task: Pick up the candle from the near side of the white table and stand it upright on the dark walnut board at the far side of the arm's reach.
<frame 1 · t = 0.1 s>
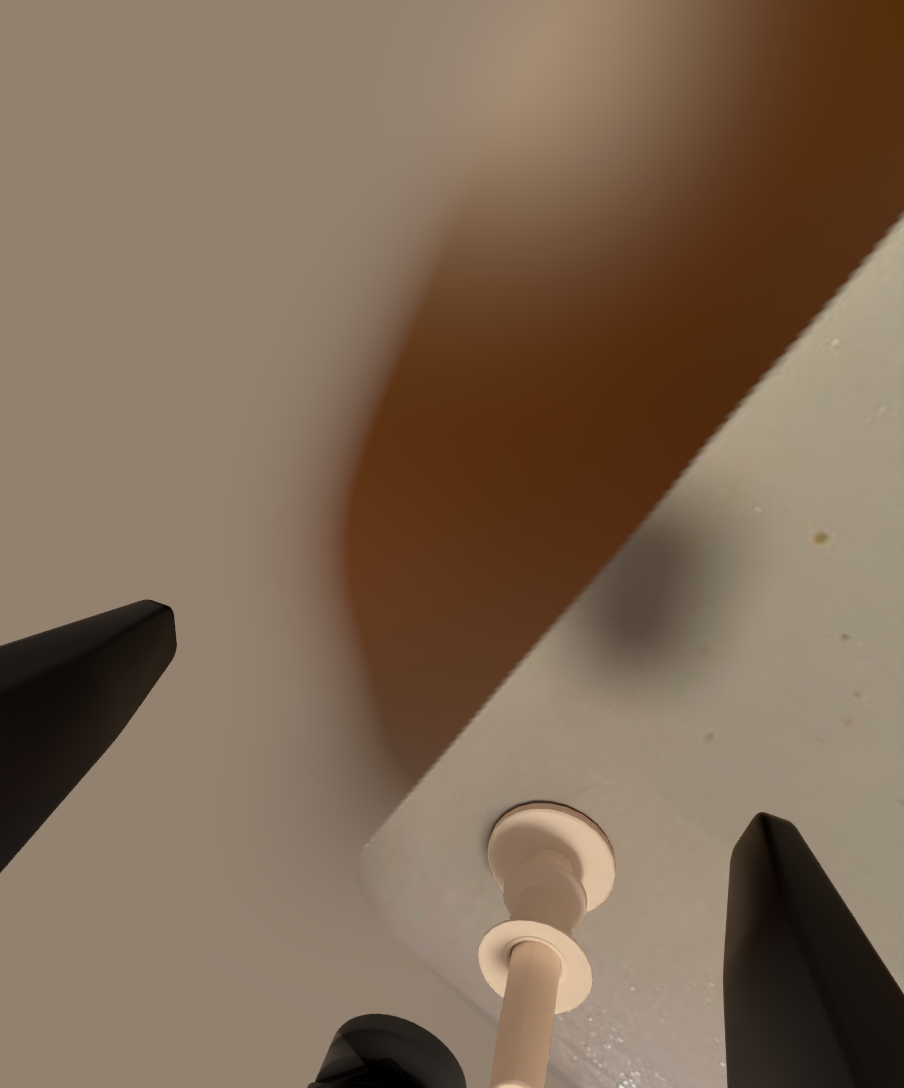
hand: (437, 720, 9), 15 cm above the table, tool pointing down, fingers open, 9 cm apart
candle: (551, 852, 27), on the table
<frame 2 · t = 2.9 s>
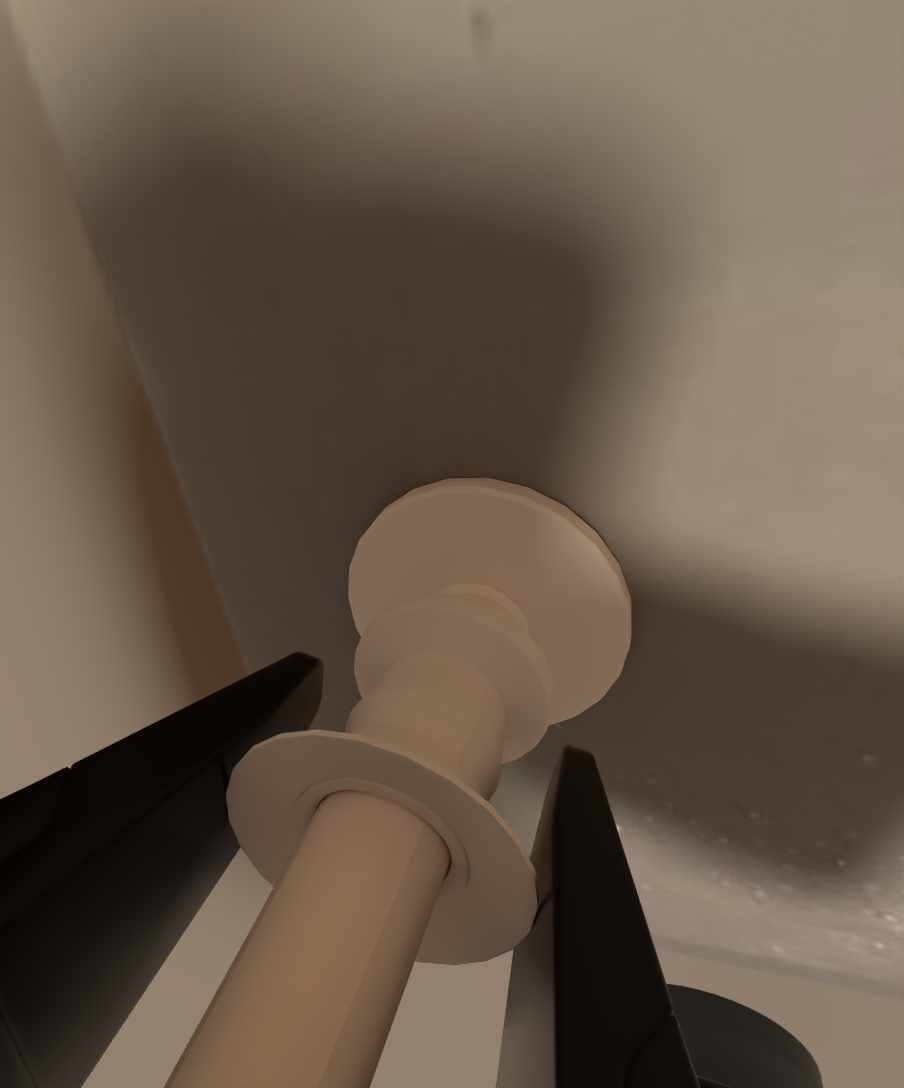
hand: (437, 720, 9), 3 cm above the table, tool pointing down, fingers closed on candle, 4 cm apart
candle: (490, 599, 12), on the table, touching gripper
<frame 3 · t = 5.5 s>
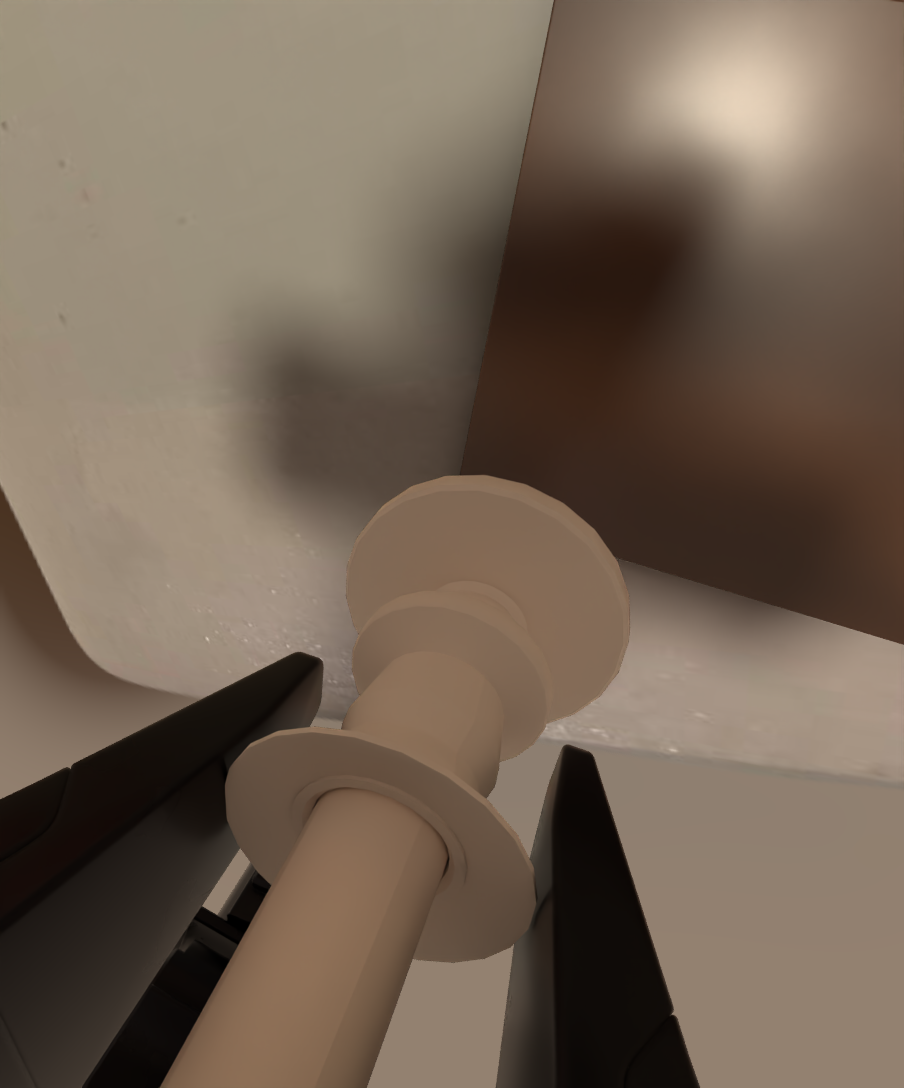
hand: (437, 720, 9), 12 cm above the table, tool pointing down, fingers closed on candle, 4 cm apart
walnut board: (873, 372, 17), on the table
candle: (488, 597, 12), point 9 cm above the table, touching gripper
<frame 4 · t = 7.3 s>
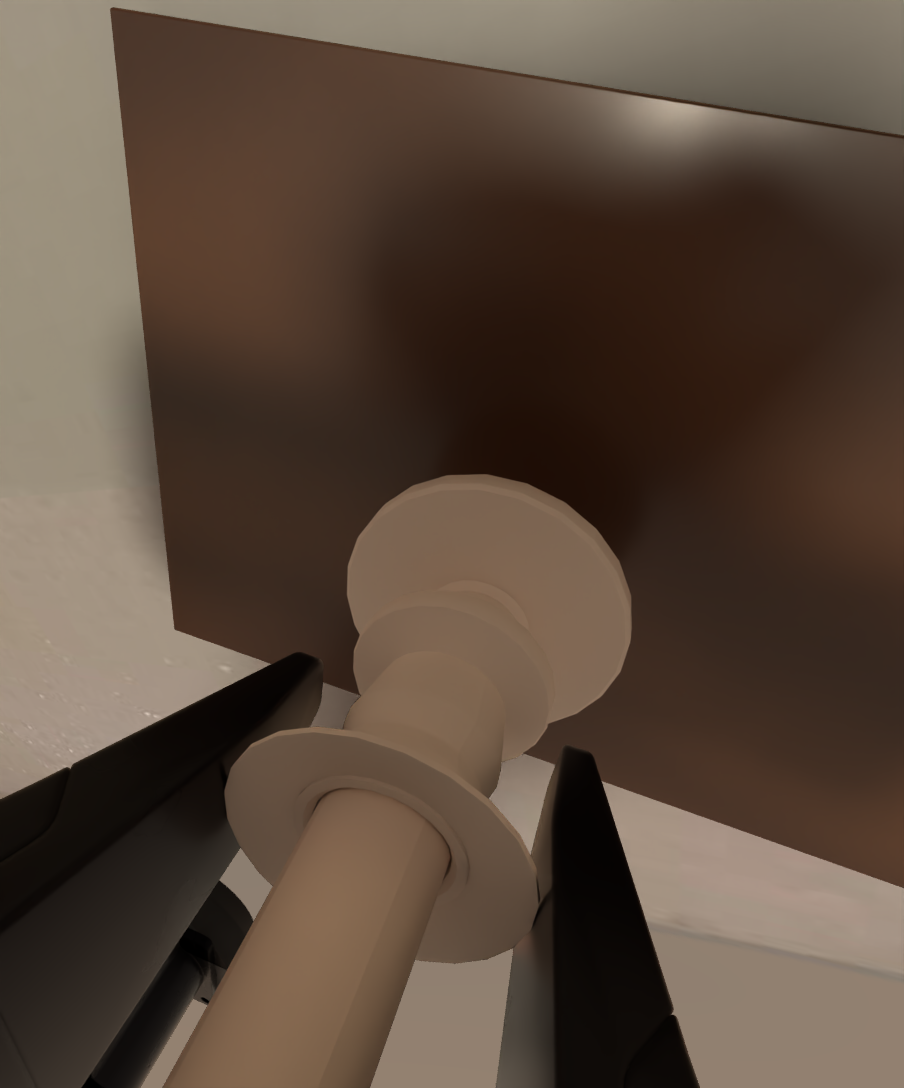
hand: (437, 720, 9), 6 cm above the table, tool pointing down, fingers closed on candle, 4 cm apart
walnut board: (581, 501, 14), on the table
candle: (489, 596, 12), point 3 cm above the table, touching gripper
when the fingers open (4 cm above the table, at t = 8.3 s): candle stays where it is, resting on walnut board.
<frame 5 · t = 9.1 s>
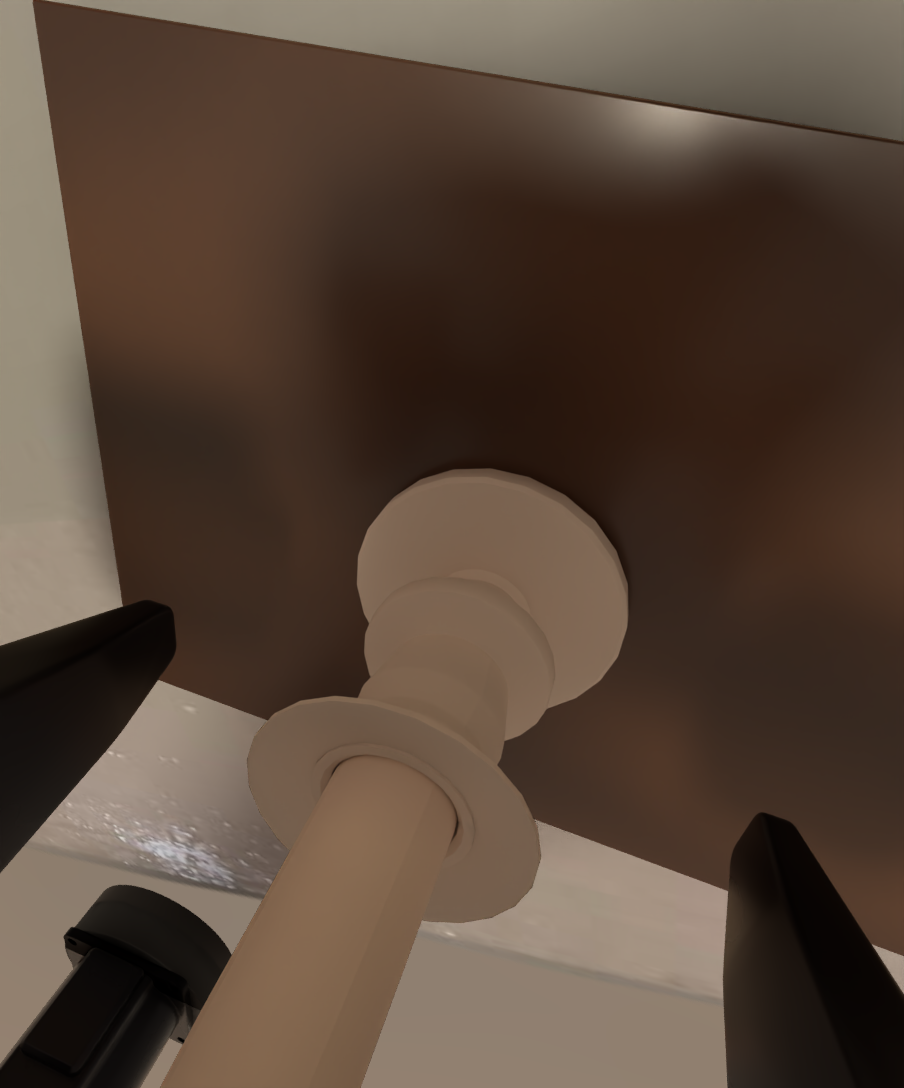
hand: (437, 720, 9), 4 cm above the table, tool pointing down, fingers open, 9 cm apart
walnut board: (565, 544, 12), on the table
candle: (492, 586, 13), point 1 cm above the table, touching walnut board
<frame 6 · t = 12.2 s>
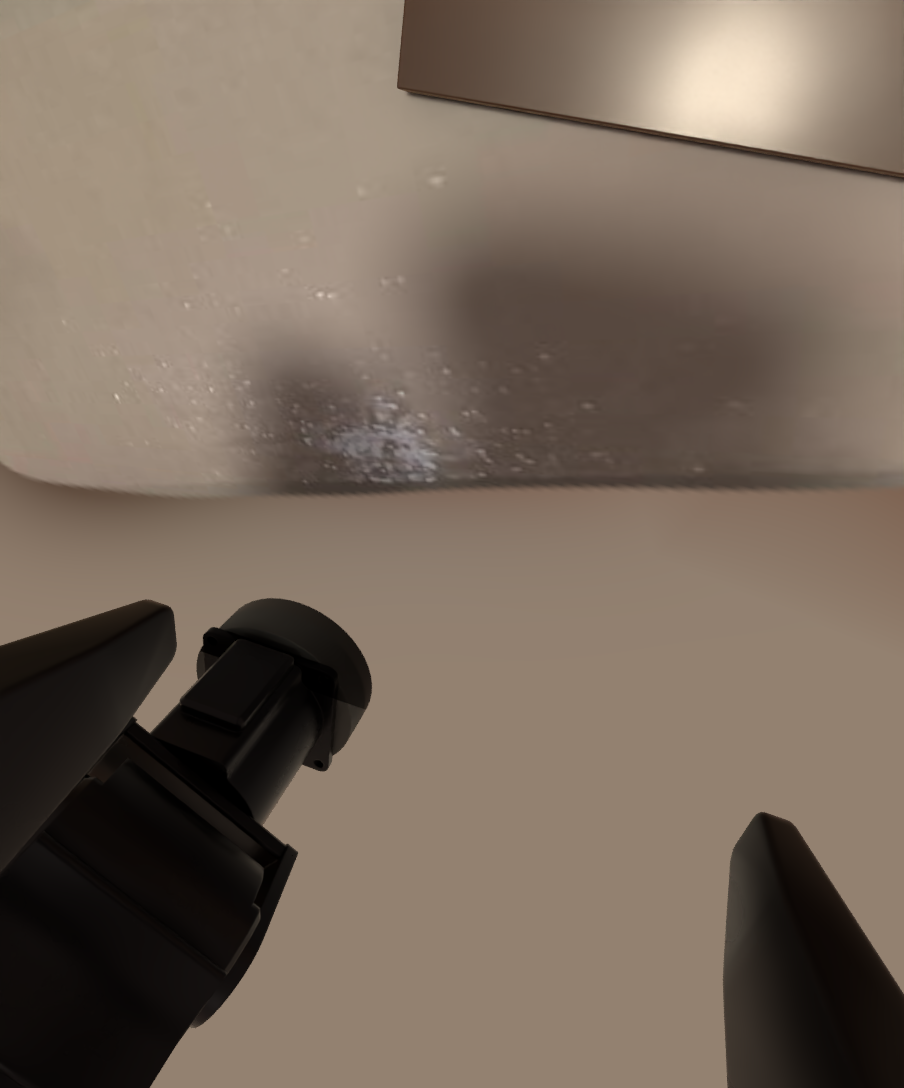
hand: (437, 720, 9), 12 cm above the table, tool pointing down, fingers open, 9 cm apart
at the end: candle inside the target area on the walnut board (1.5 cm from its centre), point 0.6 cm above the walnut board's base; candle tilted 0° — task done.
